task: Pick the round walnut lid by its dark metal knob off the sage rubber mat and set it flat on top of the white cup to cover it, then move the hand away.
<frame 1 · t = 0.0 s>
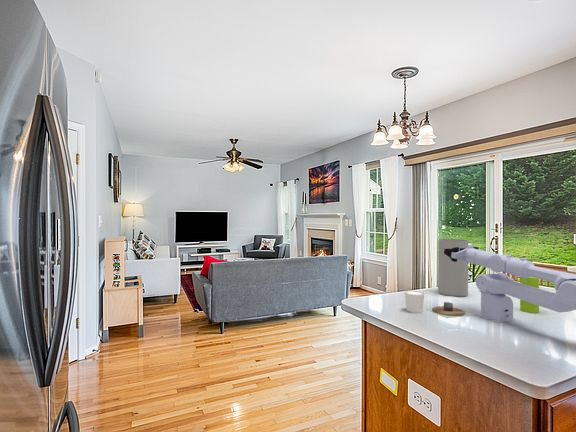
hand: (452, 251, 138), 22 cm above the counter, tool horizontal, fingers open, 7 cm apart
cylinder vase: (452, 294, 157), on the counter
white cup: (414, 312, 127), on the counter
soap dispenser: (530, 311, 129), on the counter
sage mat: (448, 312, 126), on the counter
walnut lid: (448, 311, 126), resting on sage mat
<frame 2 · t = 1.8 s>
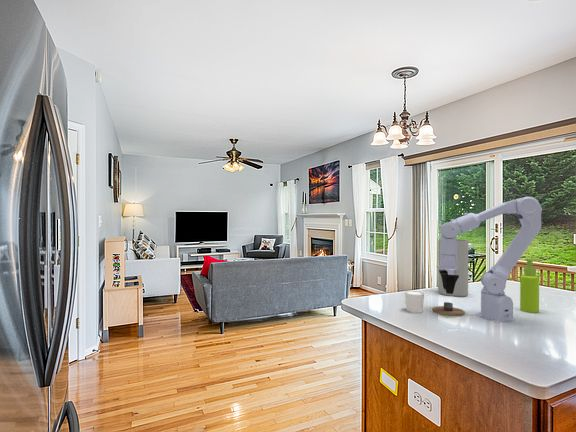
hand: (448, 291, 126), 8 cm above the counter, tool pointing down, fingers open, 7 cm apart
nothing on the counter moved.
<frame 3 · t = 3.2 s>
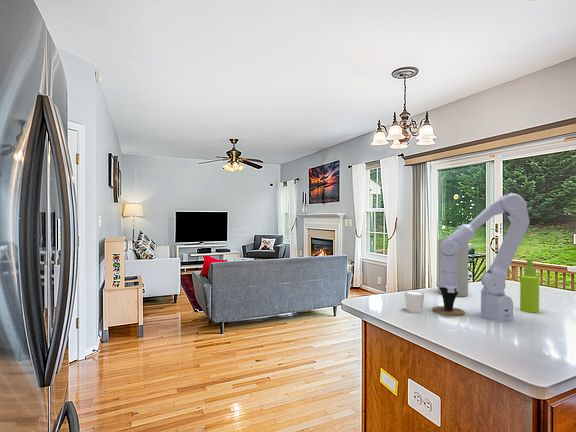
hand: (448, 308, 126), 2 cm above the counter, tool pointing down, fingers closed on walnut lid, 3 cm apart
walnut lid: (448, 311, 126), resting on sage mat, touching gripper
everything else where it was.
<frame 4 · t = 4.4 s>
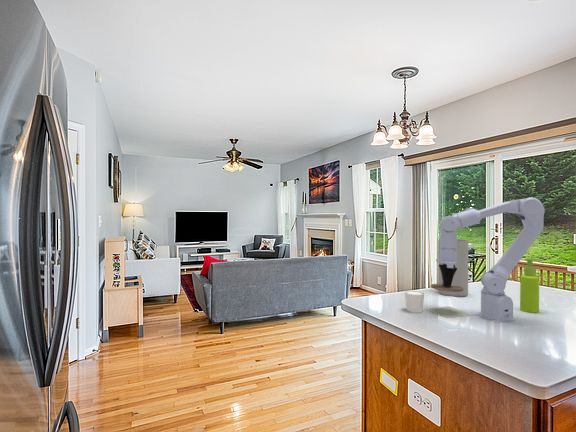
hand: (447, 284, 126), 10 cm above the counter, tool pointing down, fingers closed on walnut lid, 3 cm apart
walnut lid: (446, 288, 126), point 9 cm above the counter, touching gripper
everything else where it was.
when the fingers open (9 cm above the counter, at t = 6.1 s): walnut lid drops 1 cm, resting on white cup.
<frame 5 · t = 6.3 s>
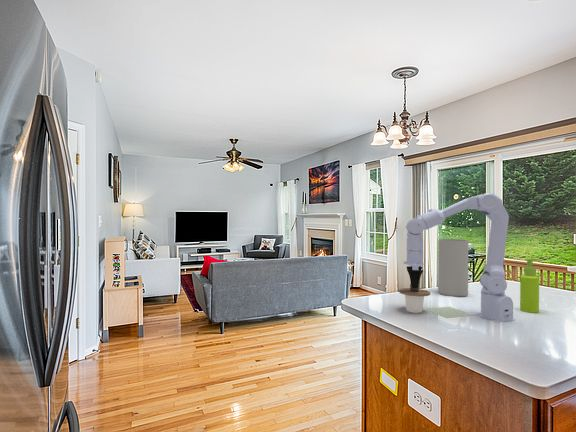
hand: (414, 286, 127), 9 cm above the counter, tool pointing down, fingers open, 5 cm apart
white cup: (414, 312, 127), on the counter, touching walnut lid
walnut lid: (414, 292, 127), point 7 cm above the counter, touching white cup
everything else where it was.
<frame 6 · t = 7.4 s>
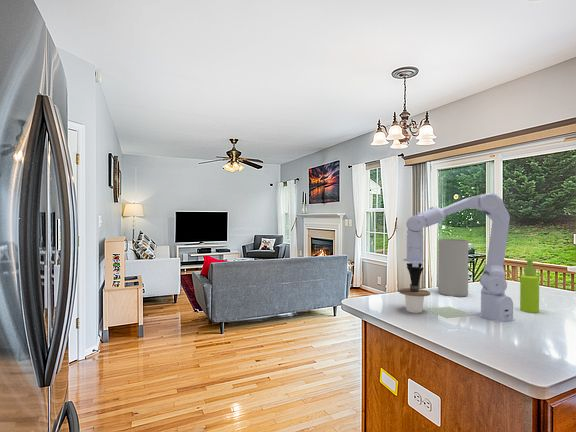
hand: (414, 283, 127), 10 cm above the counter, tool pointing down, fingers open, 7 cm apart
nothing on the counter moved.
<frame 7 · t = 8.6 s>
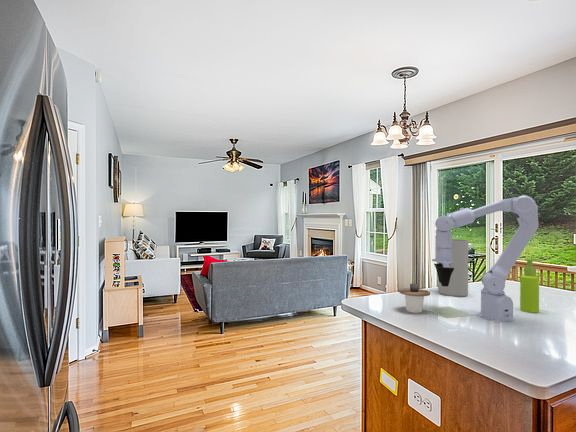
hand: (443, 284, 127), 10 cm above the counter, tool pointing down, fingers open, 7 cm apart
nothing on the counter moved.
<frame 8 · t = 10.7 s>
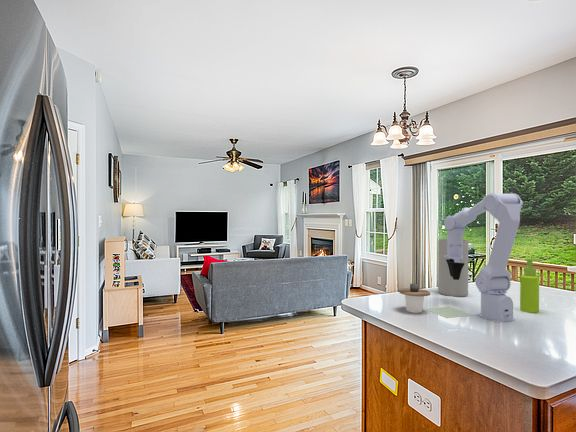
hand: (454, 278, 140), 10 cm above the counter, tool pointing down, fingers open, 7 cm apart
nothing on the counter moved.
at the end: walnut lid 0.1 cm from the white cup (horizontally); walnut lid point 6.9 cm above the counter; walnut lid tilted 0° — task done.
